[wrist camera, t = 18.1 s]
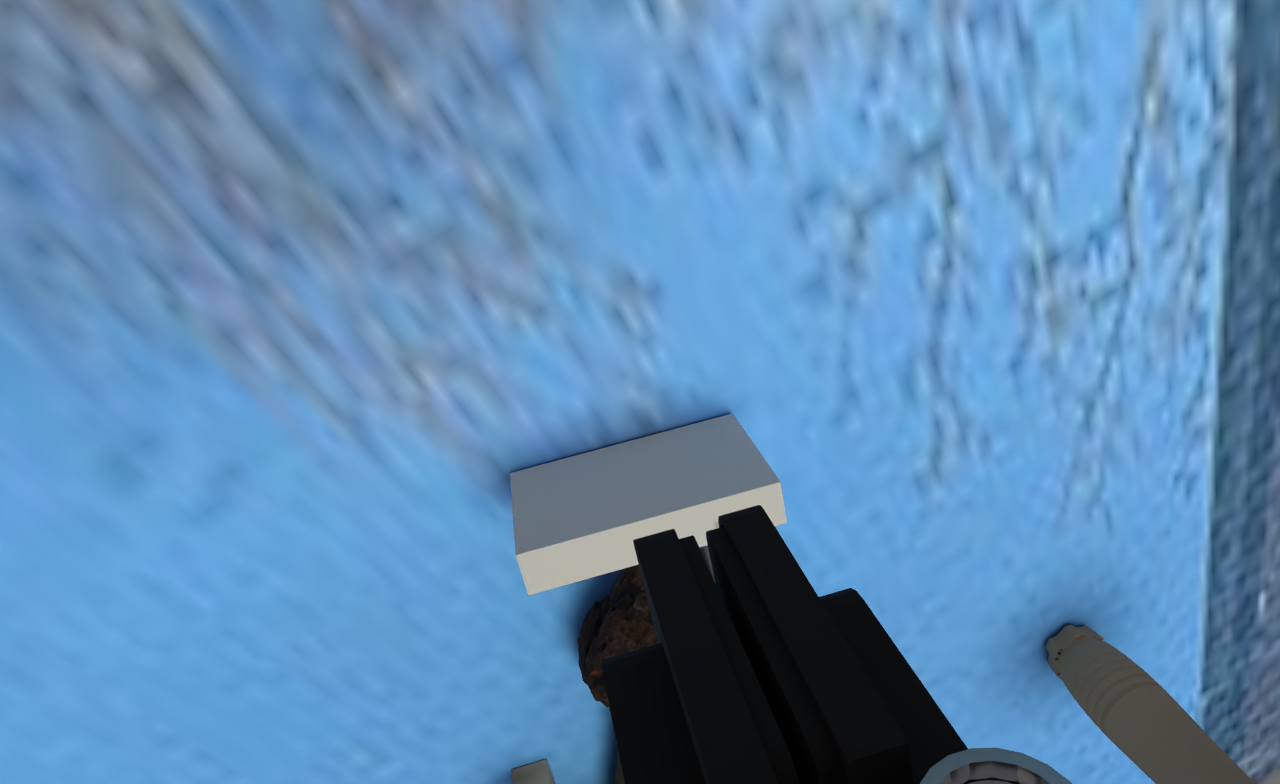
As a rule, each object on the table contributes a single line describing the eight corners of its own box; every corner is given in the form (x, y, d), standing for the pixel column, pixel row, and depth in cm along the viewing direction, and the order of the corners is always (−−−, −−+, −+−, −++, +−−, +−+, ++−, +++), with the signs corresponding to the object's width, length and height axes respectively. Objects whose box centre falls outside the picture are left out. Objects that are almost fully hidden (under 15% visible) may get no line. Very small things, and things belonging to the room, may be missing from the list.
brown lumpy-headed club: (685, 777, 49) (708, 863, 44) (572, 789, 48) (582, 878, 43) (708, 519, 43) (738, 584, 37) (576, 525, 41) (589, 593, 36)
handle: (1012, 683, 51) (1208, 915, 37) (1054, 594, 49) (1279, 807, 35) (1077, 688, 52) (1291, 916, 38) (1121, 602, 50) (1364, 811, 36)
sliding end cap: (555, 621, 43) (569, 721, 36) (509, 473, 39) (515, 555, 33) (759, 564, 44) (806, 651, 37) (732, 413, 40) (780, 482, 34)
